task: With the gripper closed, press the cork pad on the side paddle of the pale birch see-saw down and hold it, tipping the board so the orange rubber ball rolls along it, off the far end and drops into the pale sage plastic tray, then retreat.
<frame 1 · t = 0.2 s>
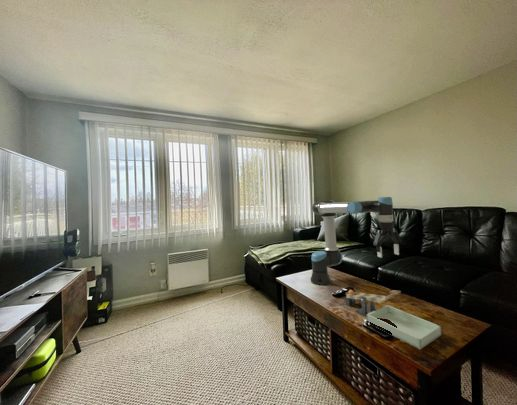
hand: (388, 255, 128), 28 cm above the table, fingers open, 13 cm apart
ball: (351, 292, 125), point 7 cm above the table, tilted 13°, touching lever
tray: (401, 328, 100), on the table
stand: (368, 312, 115), on the table
lever: (372, 294, 120), point 8 cm above the table, hinge at -14.0°, touching ball
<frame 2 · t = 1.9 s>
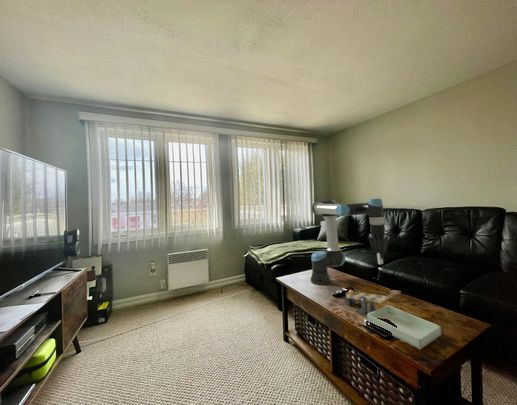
hand: (380, 263, 123), 25 cm above the table, fingers closed
nothing on the table moved.
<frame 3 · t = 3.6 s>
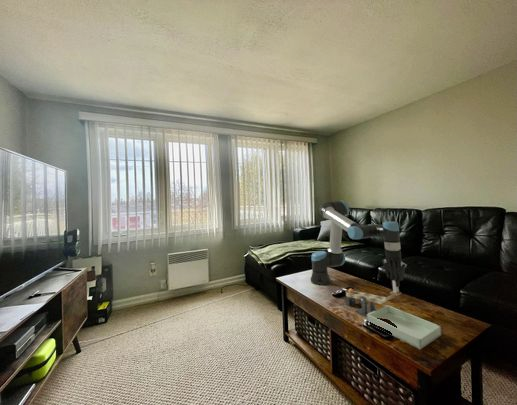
hand: (396, 292, 115), 11 cm above the table, fingers closed
ball: (351, 291, 125), point 8 cm above the table, tilted 8°, touching lever
lever: (372, 293, 120), point 8 cm above the table, hinge at -9.9°, touching ball, gripper
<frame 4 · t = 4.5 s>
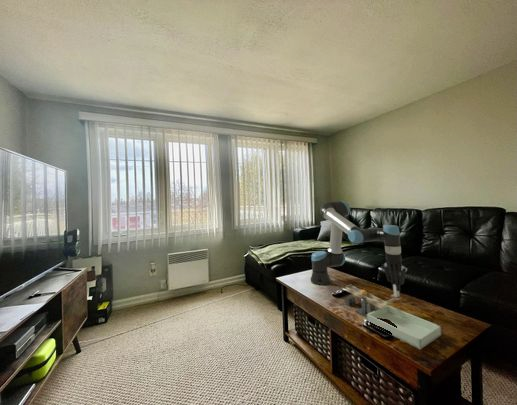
hand: (396, 296, 114), 9 cm above the table, fingers closed
ball: (363, 292, 117), point 10 cm above the table, tilted 58°
lever: (372, 293, 120), point 9 cm above the table, hinge at 5.3°, touching gripper
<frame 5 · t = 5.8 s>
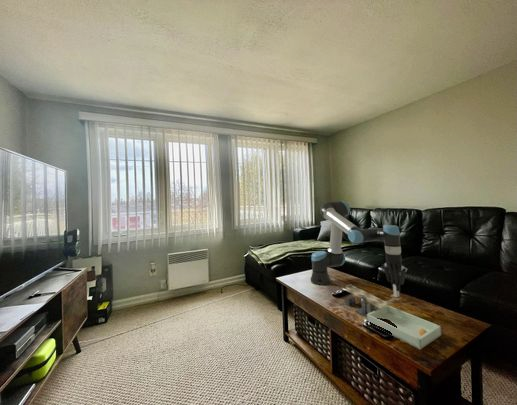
hand: (396, 296, 114), 9 cm above the table, fingers closed
ball: (423, 332, 92), point 2 cm above the table, tilted 89°, touching tray
lever: (372, 293, 120), point 9 cm above the table, hinge at 5.7°, touching gripper
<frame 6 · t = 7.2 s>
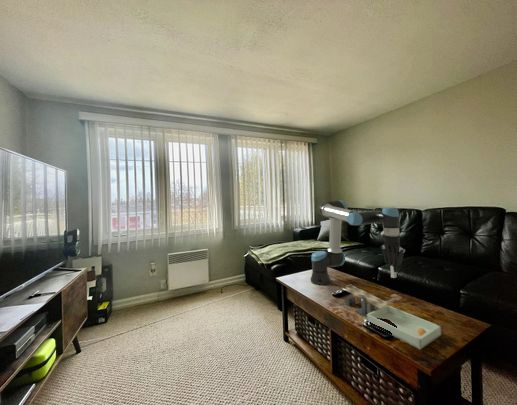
hand: (393, 277, 116), 19 cm above the table, fingers closed
ball: (422, 332, 92), point 2 cm above the table, tilted 103°, touching tray
lever: (372, 293, 120), point 9 cm above the table, hinge at 5.7°
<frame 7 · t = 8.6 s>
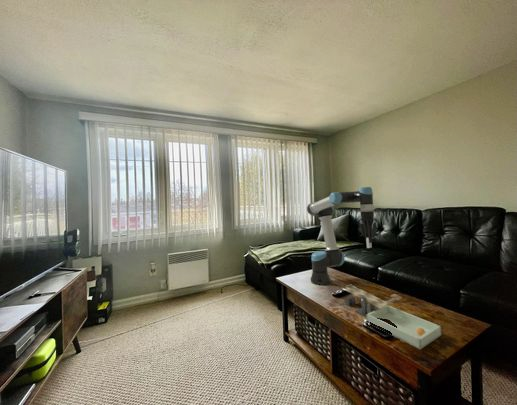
hand: (369, 247, 133), 32 cm above the table, fingers closed
ball: (421, 332, 93), point 2 cm above the table, tilted 117°, touching tray
everything else where it was.
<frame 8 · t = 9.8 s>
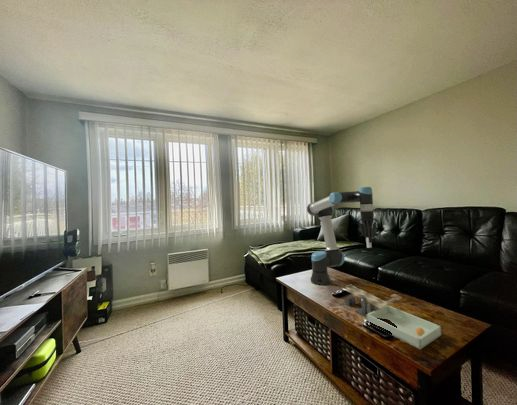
hand: (369, 247, 133), 32 cm above the table, fingers closed
ball: (420, 331, 93), point 2 cm above the table, tilted 129°, touching tray
everything else where it was.
at the end: ball inside the target area on the tray (7.9 cm from its centre), point 2.4 cm above the tray's base; ball touching tray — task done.
